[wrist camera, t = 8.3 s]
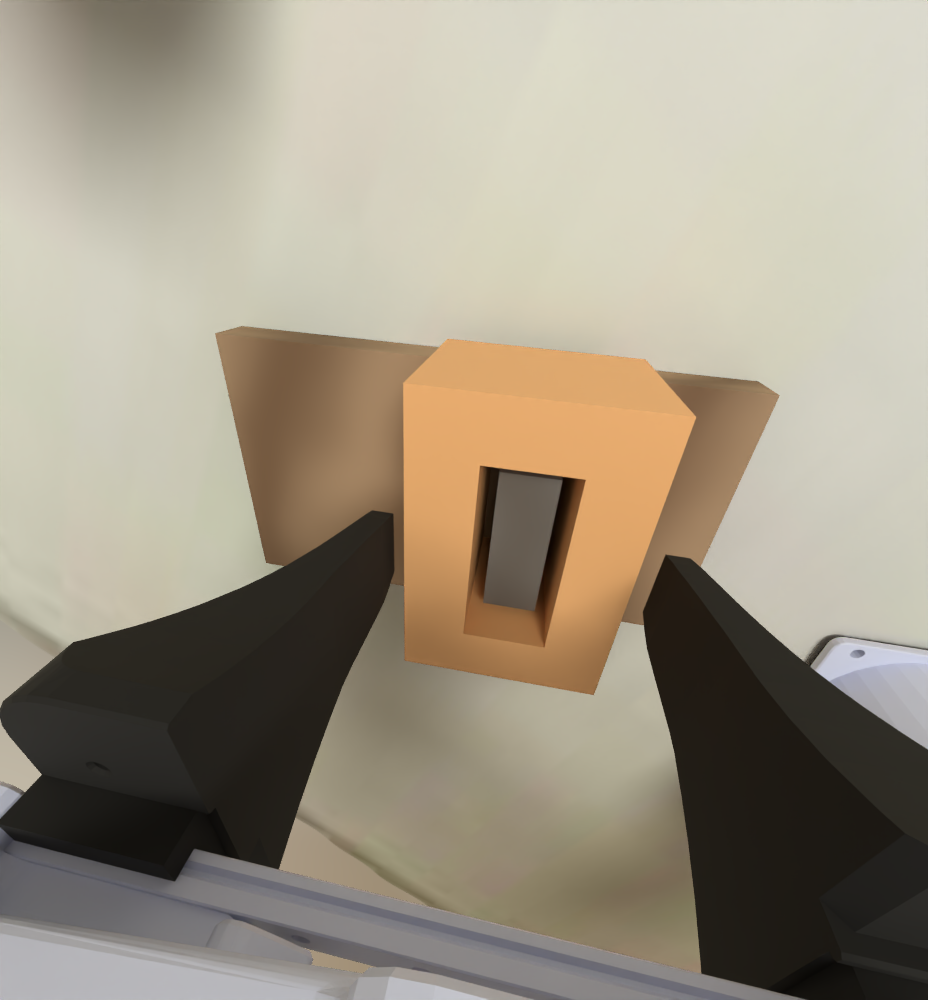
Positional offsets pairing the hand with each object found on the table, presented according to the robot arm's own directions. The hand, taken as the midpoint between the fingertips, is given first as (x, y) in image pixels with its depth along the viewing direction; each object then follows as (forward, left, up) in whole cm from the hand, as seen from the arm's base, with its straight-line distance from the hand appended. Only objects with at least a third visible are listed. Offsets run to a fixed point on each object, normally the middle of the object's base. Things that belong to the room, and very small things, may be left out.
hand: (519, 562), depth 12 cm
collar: (0, 0, -5) cm, 5 cm away
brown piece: (+2, +1, -6) cm, 7 cm away
